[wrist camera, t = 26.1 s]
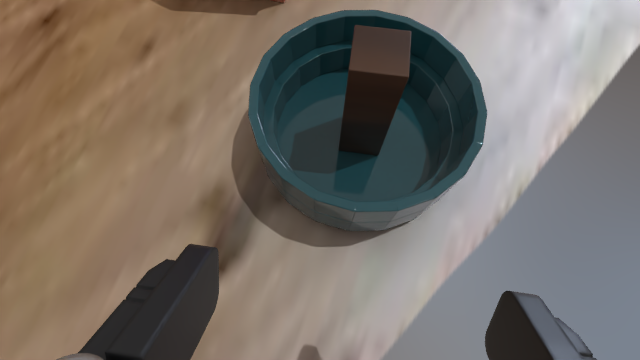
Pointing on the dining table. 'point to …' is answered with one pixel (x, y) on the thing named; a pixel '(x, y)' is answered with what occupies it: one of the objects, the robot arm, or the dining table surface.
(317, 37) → the bowl
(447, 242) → the dining table surface
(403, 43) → the brown rectangular block
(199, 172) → the dining table surface
